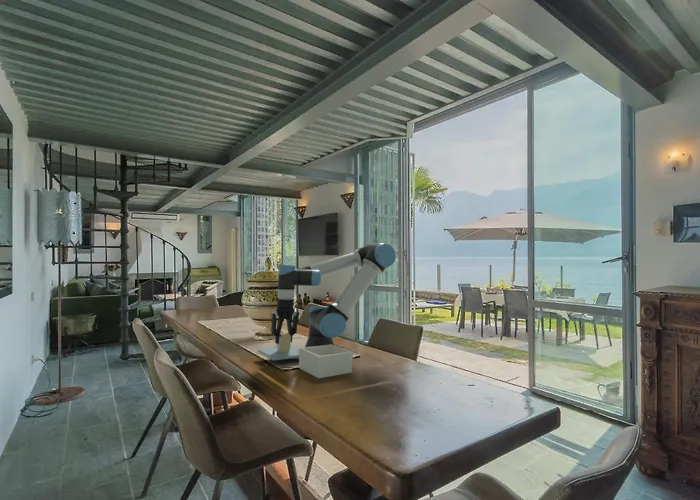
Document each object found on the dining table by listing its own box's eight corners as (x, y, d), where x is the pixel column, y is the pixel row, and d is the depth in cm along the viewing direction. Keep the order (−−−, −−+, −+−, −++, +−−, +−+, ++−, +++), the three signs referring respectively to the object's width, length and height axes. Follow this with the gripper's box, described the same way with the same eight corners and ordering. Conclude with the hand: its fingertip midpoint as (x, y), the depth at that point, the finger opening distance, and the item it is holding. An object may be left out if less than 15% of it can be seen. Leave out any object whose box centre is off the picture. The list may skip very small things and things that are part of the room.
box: (330, 364, 170) (331, 344, 170) (351, 374, 157) (352, 352, 157) (298, 369, 161) (299, 348, 161) (318, 380, 148) (319, 356, 148)
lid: (291, 347, 185) (292, 329, 185) (308, 355, 171) (309, 335, 171) (258, 351, 175) (259, 331, 175) (273, 360, 161) (274, 339, 162)
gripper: (298, 297, 182) (296, 346, 181) (264, 298, 172) (262, 350, 171) (306, 298, 176) (304, 350, 175) (271, 299, 166) (269, 354, 165)
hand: (283, 350), depth 173 cm, fingers closed on lid, 4 cm apart
